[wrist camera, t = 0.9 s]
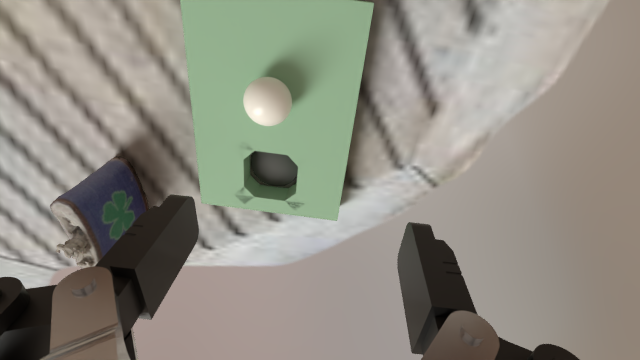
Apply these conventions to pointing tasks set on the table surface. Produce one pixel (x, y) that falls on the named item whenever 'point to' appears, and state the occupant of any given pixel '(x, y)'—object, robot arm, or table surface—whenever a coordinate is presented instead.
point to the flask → (99, 211)
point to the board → (305, 88)
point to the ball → (267, 101)
